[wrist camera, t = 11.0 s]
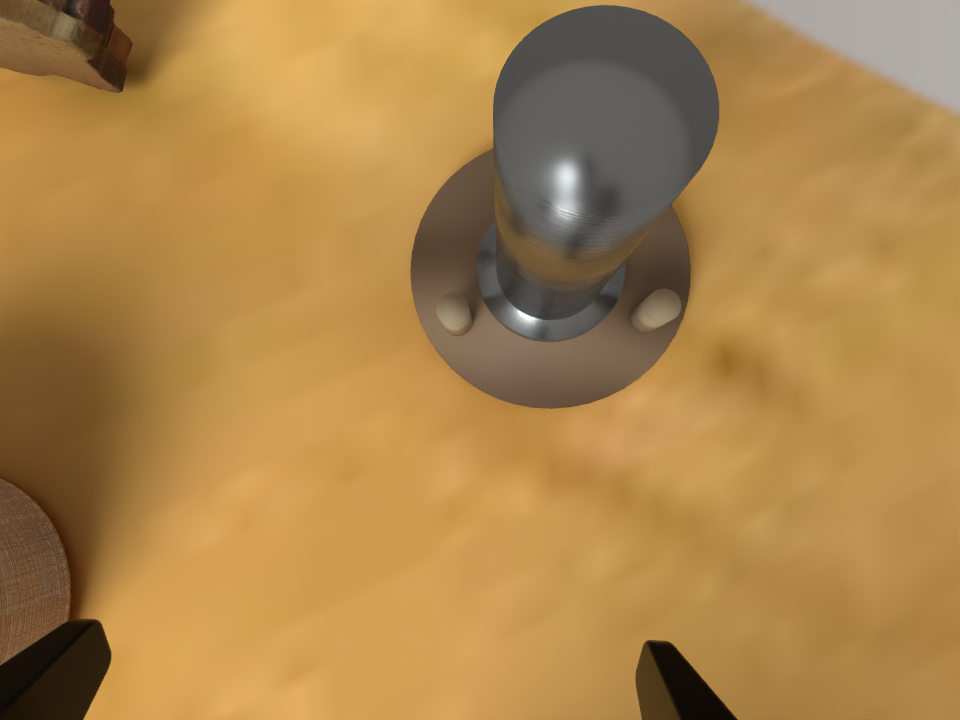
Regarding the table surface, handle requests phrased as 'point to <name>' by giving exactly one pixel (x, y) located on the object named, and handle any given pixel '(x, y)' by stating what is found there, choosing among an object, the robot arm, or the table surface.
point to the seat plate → (527, 363)
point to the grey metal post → (587, 162)
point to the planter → (29, 573)
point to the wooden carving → (64, 41)
